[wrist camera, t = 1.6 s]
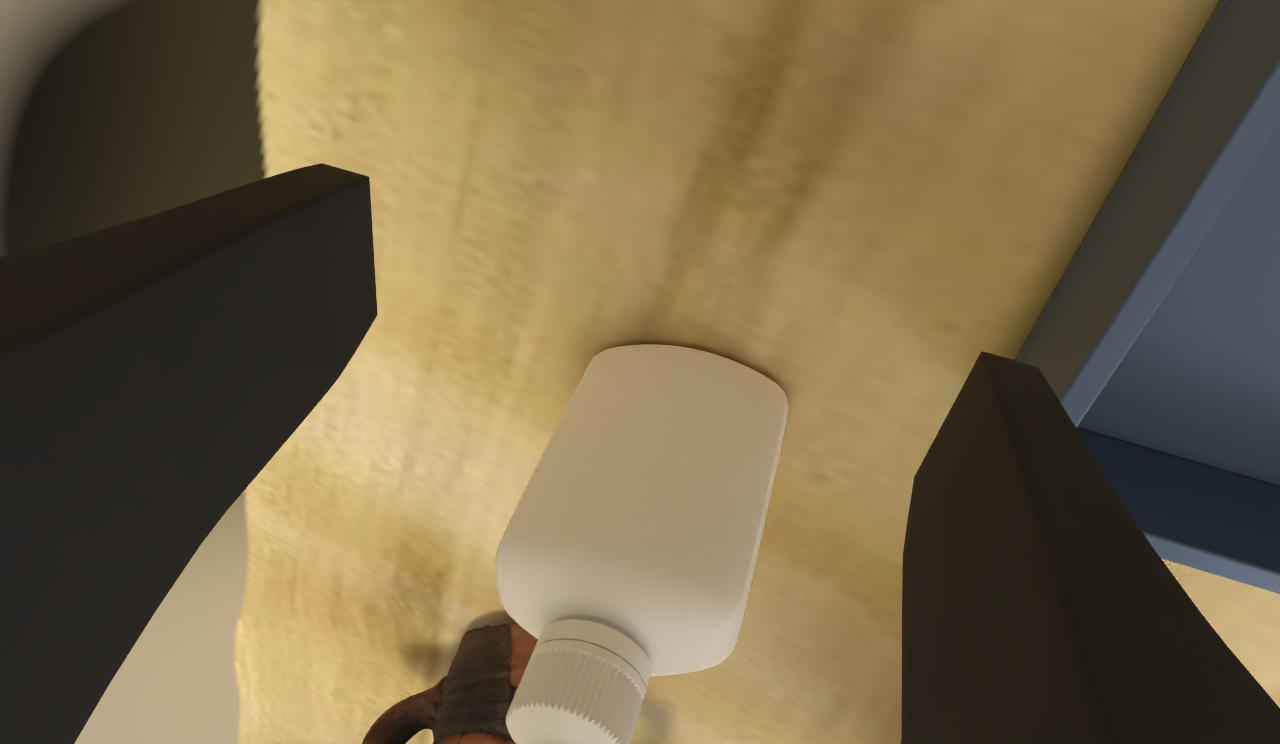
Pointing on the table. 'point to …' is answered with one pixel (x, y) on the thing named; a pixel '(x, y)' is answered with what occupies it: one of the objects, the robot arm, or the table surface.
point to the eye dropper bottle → (637, 536)
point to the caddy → (1187, 312)
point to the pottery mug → (465, 693)
